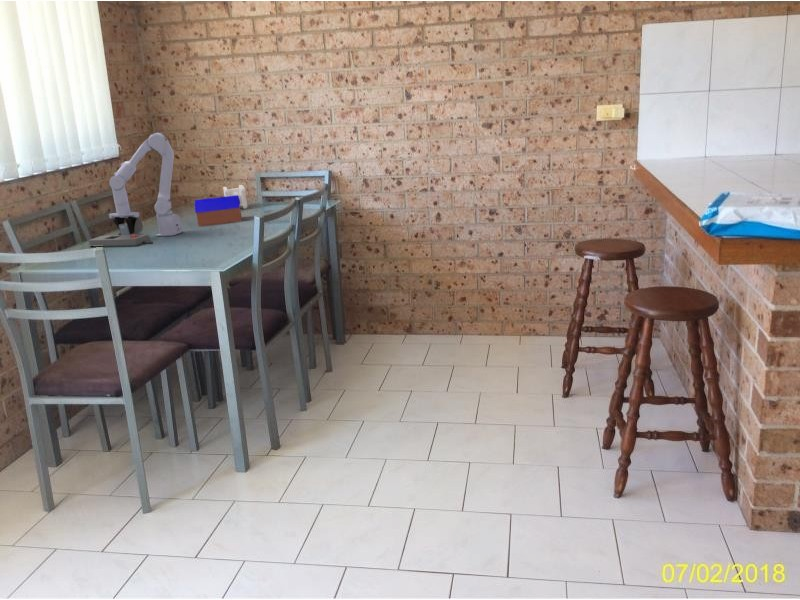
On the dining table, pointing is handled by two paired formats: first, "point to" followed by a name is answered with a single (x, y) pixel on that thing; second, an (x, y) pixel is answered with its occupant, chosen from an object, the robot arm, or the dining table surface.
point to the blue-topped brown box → (218, 210)
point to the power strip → (121, 240)
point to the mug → (137, 227)
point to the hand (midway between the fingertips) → (127, 233)
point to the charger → (124, 229)
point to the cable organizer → (239, 192)
